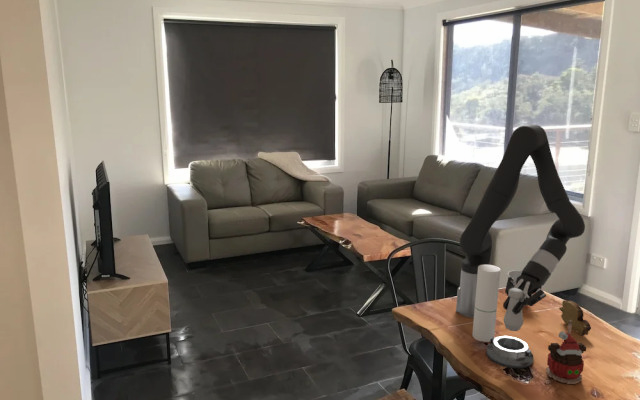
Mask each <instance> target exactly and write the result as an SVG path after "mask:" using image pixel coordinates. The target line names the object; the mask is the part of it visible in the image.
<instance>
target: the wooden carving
mask: <svg viewBox="0 0 640 400" xmlns="http://www.w3.org/2000/svg"><path fill="white" fill-rule="evenodd" d="M562 300H563V299H562ZM561 304H562V306H560V307H558V308H559V311H560V312H561V315H560V317H561V319H562V321H563V322H564V324H565V325H566V327H568V323H569V320H571V321H572V328H571V331H572V332H577V334H578V335H579V336H581V337H584V336H587V335H589V332H590V331H591V330H592V326H591V324H590V322H589V321H588V320H587V319H584V316H585V315H584V311H583V309H582V307H581V306H580V305H579V304H578V303H576V301H575V302H574V301H573V300H570V299H564V300H563V301H562V303H561Z"/></svg>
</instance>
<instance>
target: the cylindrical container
mask: <svg viewBox="0 0 640 400" xmlns="http://www.w3.org/2000/svg"><path fill="white" fill-rule="evenodd" d="M500 277H501V268H500V267H498V266H496V265H493V264H489V265H480V266H478V274H477V286H476V298H475V310H474V318H473V323H472V325H473V326H472V334H471V335H472V338H473V337H474V338H473V339H475V340H477V341H478V342H482V341H483V342H482V343H490V339H491V338H493V337H494V338H495V335H496V334H495V333H496V321H497V312H498V311H497V310H498V299H499V289H500V279H501V278H500Z"/></svg>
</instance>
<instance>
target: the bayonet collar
mask: <svg viewBox="0 0 640 400" xmlns="http://www.w3.org/2000/svg"><path fill="white" fill-rule="evenodd" d="M529 348H530V347H529V345H528V343H527V342H526V341H524V340H522V339H520V338H517V337H515V336H511V335H510V336H509V335H500V336H494V337H493V338H491V339H490V342H489V344H488V345H487V347H486V351H485V354H486V357H487V358H488V360H490V361H491V362H493V363H494V364H497V365H498V366H501V367H504V368H508V369H517V370H518V369H525V368H529V367H530V366H532V365H533V361H534V354H533V353H532V350H531V349H529Z"/></svg>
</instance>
